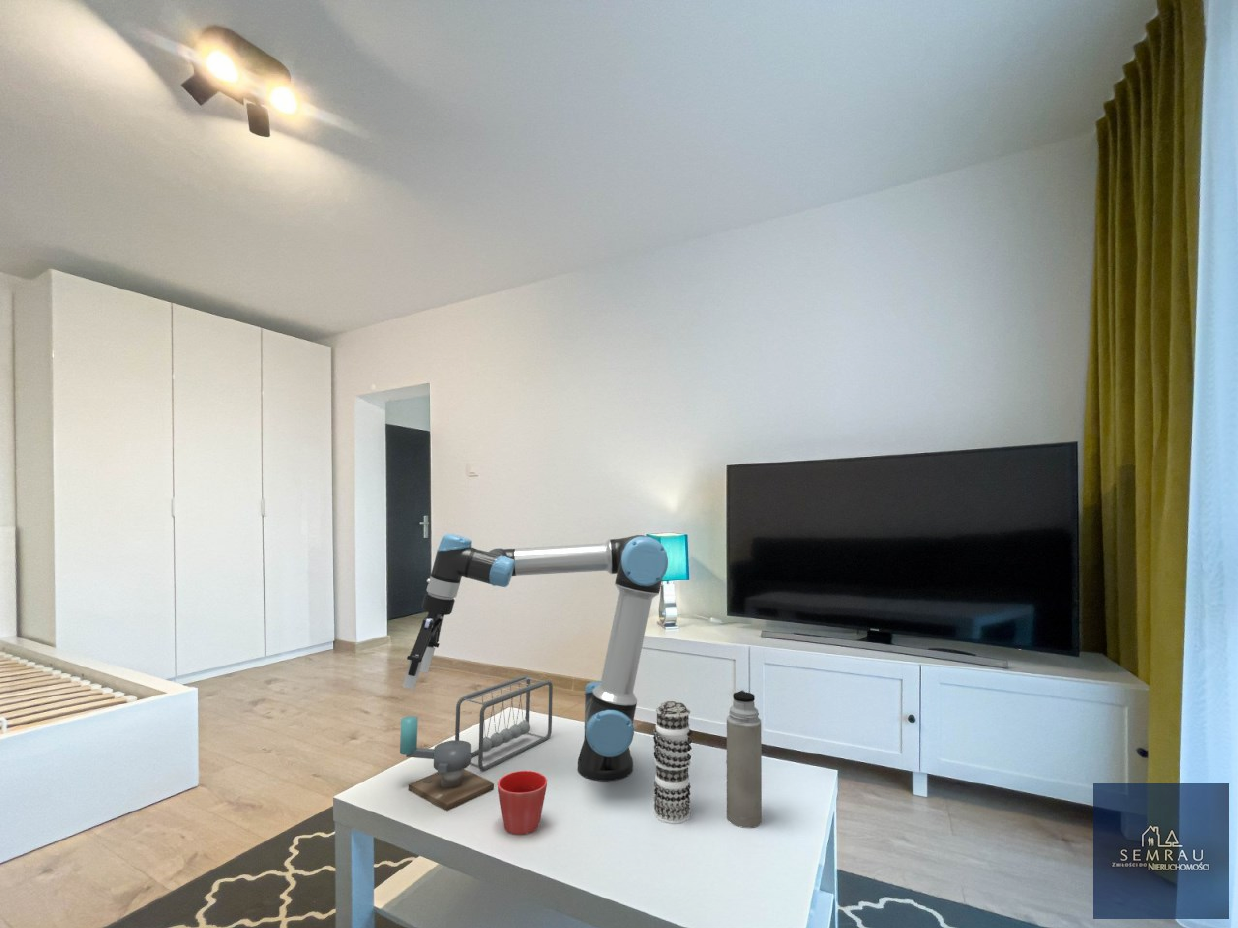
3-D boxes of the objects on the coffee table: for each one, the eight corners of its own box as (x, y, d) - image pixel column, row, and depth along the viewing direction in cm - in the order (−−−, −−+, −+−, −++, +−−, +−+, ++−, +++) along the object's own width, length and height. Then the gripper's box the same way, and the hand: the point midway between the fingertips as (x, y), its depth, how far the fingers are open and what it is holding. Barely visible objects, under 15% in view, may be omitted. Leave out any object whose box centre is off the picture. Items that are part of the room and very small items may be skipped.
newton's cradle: (479, 773, 155) (482, 705, 157) (453, 764, 161) (455, 698, 162) (552, 737, 180) (553, 679, 182) (527, 730, 186) (528, 673, 187)
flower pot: (536, 842, 124) (538, 794, 125) (488, 835, 126) (490, 789, 127) (552, 816, 134) (553, 773, 135) (507, 811, 136) (508, 768, 137)
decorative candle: (669, 799, 143) (670, 695, 145) (699, 814, 136) (700, 704, 138) (644, 813, 136) (645, 703, 138) (674, 829, 130) (675, 713, 132)
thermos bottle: (729, 807, 140) (729, 687, 142) (763, 813, 137) (762, 691, 139) (724, 824, 132) (724, 697, 134) (760, 830, 129) (759, 701, 132)
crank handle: (478, 755, 152) (479, 714, 153) (459, 775, 140) (460, 732, 141) (412, 749, 155) (413, 710, 156) (387, 769, 143) (389, 726, 144)
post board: (494, 789, 147) (494, 764, 147) (446, 811, 136) (447, 784, 136) (455, 770, 157) (456, 747, 157) (408, 790, 146) (409, 765, 146)
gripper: (437, 585, 159) (414, 662, 157) (412, 599, 134) (385, 691, 132) (464, 591, 159) (441, 668, 157) (444, 607, 134) (417, 699, 133)
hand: (415, 679), depth 145 cm, fingers open, 13 cm apart
